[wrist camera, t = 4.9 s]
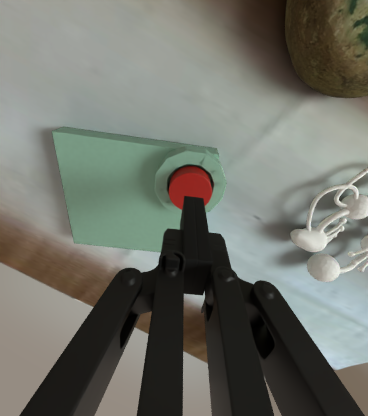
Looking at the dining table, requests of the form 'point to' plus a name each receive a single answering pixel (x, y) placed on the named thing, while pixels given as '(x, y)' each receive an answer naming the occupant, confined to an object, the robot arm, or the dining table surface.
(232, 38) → the dining table surface
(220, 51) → the dining table surface
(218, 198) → the green button base
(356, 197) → the tangled rod sculpture
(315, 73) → the weight
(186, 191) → the red push button
